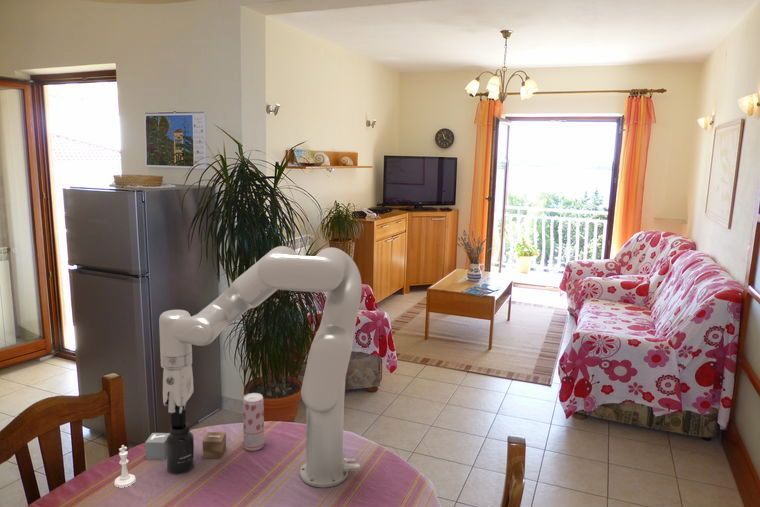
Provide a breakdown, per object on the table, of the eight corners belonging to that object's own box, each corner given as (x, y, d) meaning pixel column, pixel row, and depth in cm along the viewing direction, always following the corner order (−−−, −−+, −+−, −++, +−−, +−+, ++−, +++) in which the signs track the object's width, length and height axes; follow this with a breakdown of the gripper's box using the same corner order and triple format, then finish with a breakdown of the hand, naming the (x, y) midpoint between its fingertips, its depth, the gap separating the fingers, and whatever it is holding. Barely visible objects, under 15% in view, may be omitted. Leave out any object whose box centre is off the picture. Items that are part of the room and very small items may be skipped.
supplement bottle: (185, 476, 141) (184, 433, 139) (161, 472, 143) (159, 430, 140) (199, 461, 148) (198, 420, 146) (176, 458, 149) (174, 417, 147)
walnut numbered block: (226, 448, 155) (225, 431, 154) (221, 458, 150) (221, 441, 149) (208, 448, 155) (207, 431, 154) (203, 458, 150) (202, 440, 149)
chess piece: (111, 480, 138) (109, 444, 137) (132, 474, 142) (130, 438, 140) (117, 490, 135) (115, 453, 133) (138, 483, 138) (136, 446, 136)
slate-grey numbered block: (171, 449, 153) (170, 432, 152) (164, 459, 149) (163, 442, 148) (153, 449, 153) (152, 432, 152) (146, 459, 148) (145, 441, 147)
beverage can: (240, 450, 154) (239, 400, 151) (247, 439, 160) (247, 391, 157) (260, 452, 153) (259, 402, 151) (266, 441, 159) (266, 393, 156)
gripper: (181, 370, 132) (183, 440, 136) (200, 348, 147) (201, 412, 150) (150, 370, 132) (153, 439, 136) (171, 347, 147) (174, 411, 150)
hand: (178, 425), depth 143 cm, fingers closed
